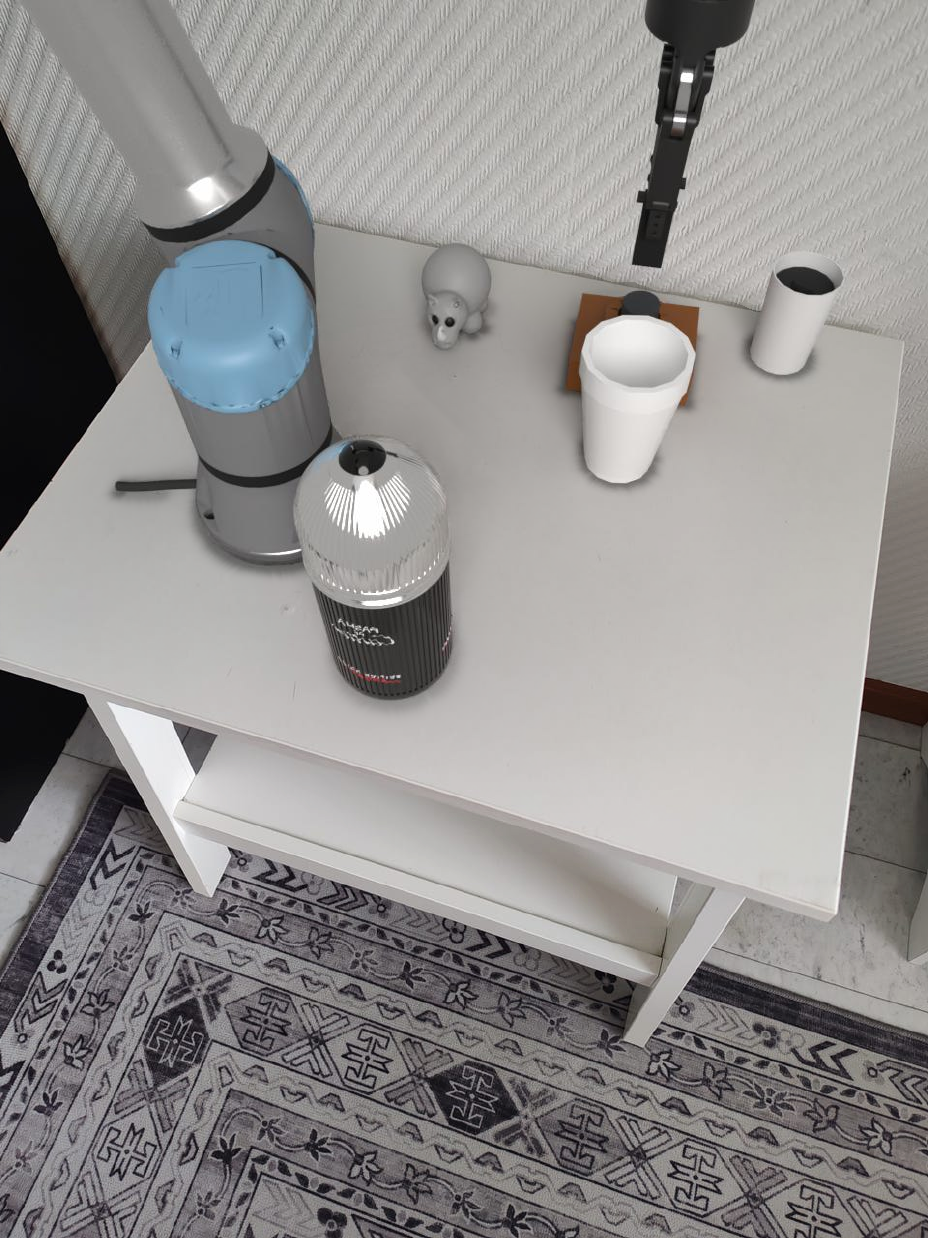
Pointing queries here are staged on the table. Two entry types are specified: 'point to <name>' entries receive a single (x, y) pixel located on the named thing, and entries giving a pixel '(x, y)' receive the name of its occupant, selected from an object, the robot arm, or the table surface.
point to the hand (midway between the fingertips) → (647, 261)
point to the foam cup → (630, 392)
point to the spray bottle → (378, 563)
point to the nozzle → (641, 304)
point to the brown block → (610, 307)
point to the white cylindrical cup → (795, 310)
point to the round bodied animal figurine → (455, 292)
